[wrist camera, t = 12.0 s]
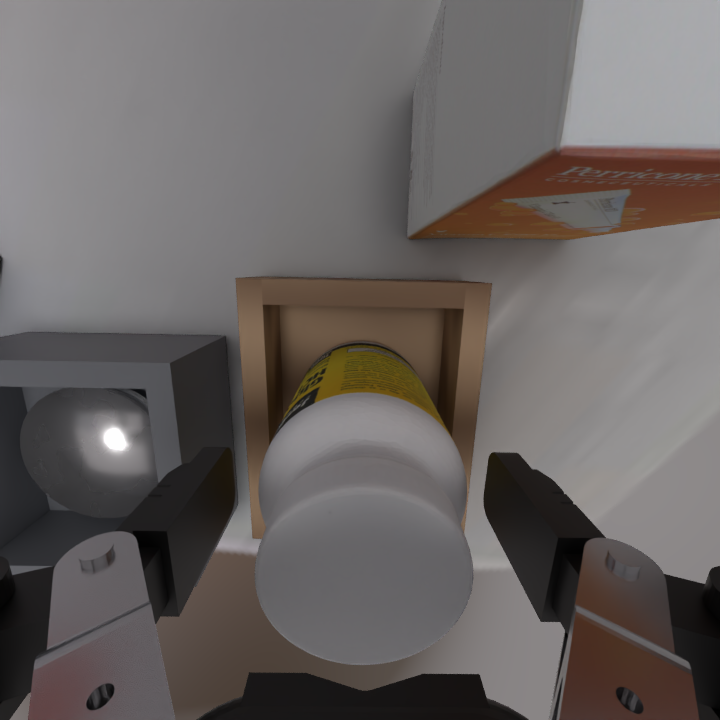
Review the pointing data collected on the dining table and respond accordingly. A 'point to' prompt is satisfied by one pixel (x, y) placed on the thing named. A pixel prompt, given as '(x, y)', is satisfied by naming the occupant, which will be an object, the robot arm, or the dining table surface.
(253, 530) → the wooden tray
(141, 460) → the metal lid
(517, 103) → the small box
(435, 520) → the pill bottle
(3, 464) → the cradle
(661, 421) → the dining table surface
